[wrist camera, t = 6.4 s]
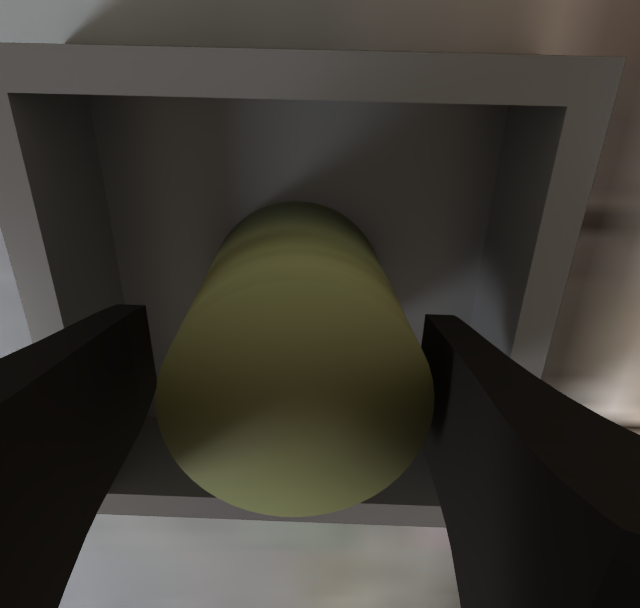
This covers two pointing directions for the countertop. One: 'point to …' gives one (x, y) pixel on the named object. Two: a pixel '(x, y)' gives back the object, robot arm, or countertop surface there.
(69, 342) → the robot arm
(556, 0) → the countertop surface
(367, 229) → the bin
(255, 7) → the countertop surface
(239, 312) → the green cylinder
